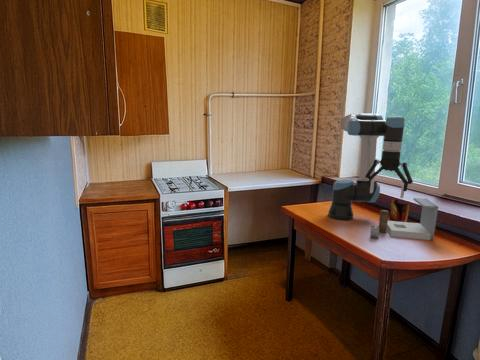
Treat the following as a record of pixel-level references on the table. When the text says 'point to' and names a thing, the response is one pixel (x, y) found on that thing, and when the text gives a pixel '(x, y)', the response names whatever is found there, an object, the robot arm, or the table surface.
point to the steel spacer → (374, 232)
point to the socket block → (417, 229)
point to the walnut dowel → (383, 221)
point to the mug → (399, 211)
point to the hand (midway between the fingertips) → (386, 195)
